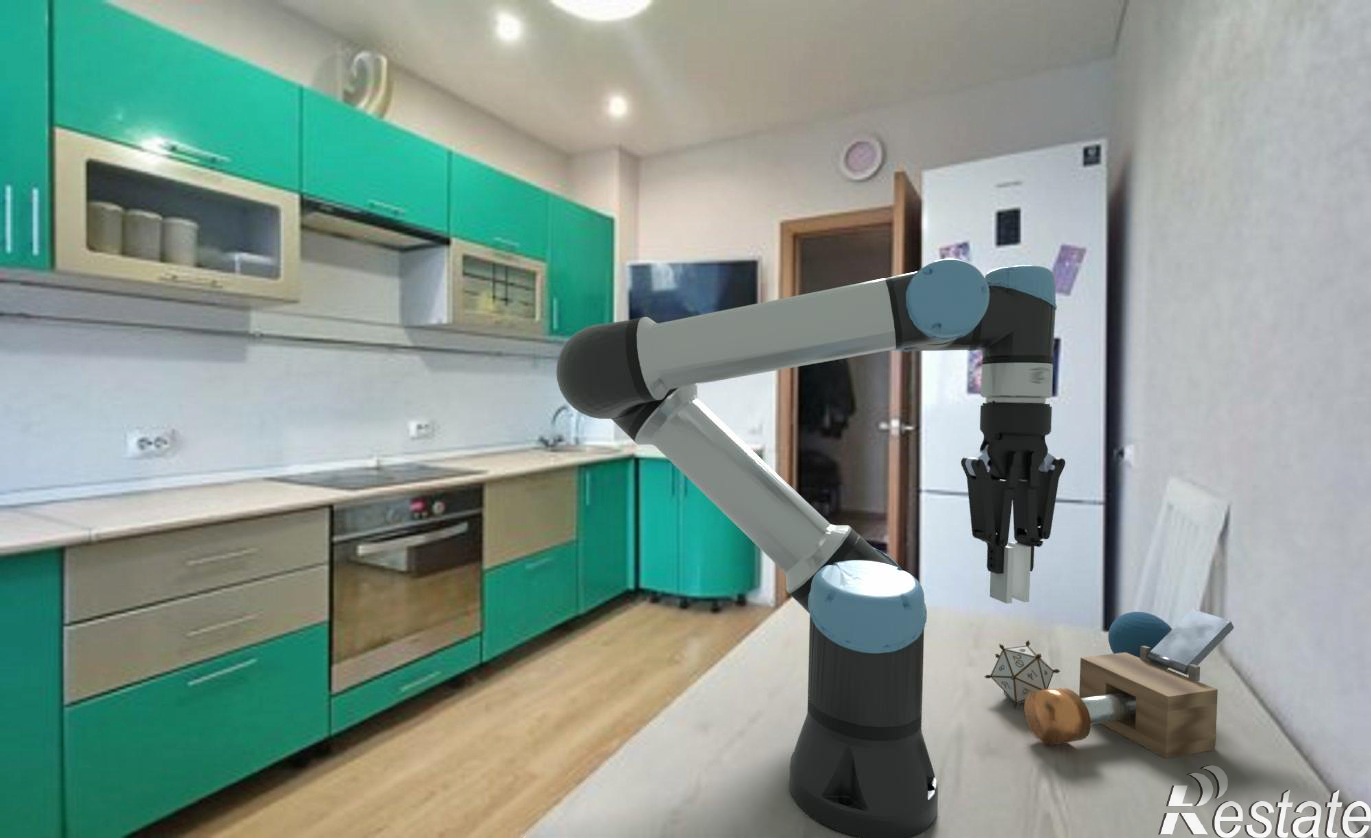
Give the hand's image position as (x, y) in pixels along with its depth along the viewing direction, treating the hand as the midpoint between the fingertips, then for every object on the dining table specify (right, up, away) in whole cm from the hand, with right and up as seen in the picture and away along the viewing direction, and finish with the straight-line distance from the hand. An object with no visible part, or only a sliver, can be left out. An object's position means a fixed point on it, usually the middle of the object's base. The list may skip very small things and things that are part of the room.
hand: (1009, 598), depth 77 cm
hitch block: (+21, -19, +7) cm, 29 cm away
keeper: (+28, -9, +8) cm, 31 cm away
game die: (+9, -18, +14) cm, 25 cm away
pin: (+13, -18, +4) cm, 23 cm away
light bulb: (+27, -19, +16) cm, 37 cm away
